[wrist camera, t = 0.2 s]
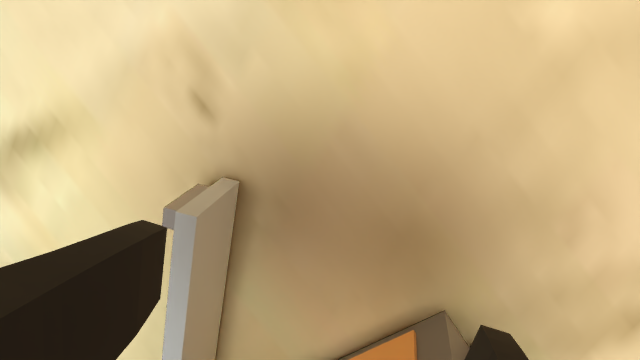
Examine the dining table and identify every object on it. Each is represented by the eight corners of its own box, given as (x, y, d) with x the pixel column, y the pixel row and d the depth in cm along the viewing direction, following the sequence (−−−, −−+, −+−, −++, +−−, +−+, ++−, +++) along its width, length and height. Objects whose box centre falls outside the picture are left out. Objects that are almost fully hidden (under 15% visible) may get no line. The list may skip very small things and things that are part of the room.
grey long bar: (210, 418, 24) (171, 495, 20) (179, 408, 25) (133, 483, 20) (243, 182, 20) (202, 218, 16) (205, 173, 20) (154, 206, 16)
